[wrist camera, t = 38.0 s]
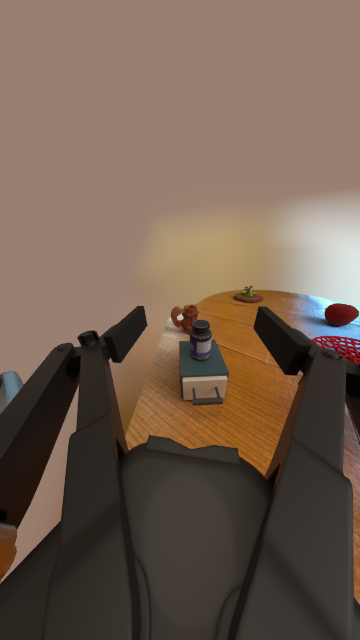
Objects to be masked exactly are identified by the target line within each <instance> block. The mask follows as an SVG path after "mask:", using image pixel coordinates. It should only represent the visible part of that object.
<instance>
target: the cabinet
mask: <svg viewBox="0 0 360 640" xmlns="http://www.w3.org/2000/svg"><path fill="white" fill-rule="evenodd" d="M179 351H180V383H181V396H182V398H184V397H183V381H182V378H185V377H201V376H227V379H228V375H229V372H228V370H227V367H226V365H225V363H224V360H223V358H222V356H221V353H220V351H219V348H218V346H217V344H216V341H215V340H211V350H210V357H209V358H208V359H207V360H204V361H198V360H195V359H194V358H192V357H191V354H190V341H179ZM227 381H228V380H227ZM226 387H227V386H226Z"/></svg>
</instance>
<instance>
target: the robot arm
mask: <svg viewBox="0 0 360 640" xmlns="http://www.w3.org/2000/svg"><path fill="white" fill-rule="evenodd" d="M146 327H147V321H146V316H145V310H144V306H137V307H136V308H135V309H134V310H133V311H132V312H130V313H129V314H128V315H127V316H126V317H125V318H124V319H122V320H121V321H120V322H119V323H118V324H116V325H114V326H112V327H111V328H110V329H109V330H107V331H106V332H105V333H104V334H103V335H102V336H100V337H99V336H98V334H97V332H96V331H87V332H84V333H82V334H80V335H79V336H78V340H79V342H80V344H81V347H74V346H73V344H72V343H65V344H61V345H58V346H57V347H55V348H54V349H53V350H52V351H51V352H50V354H49V355H48V356H47V357H46V359H45V360H44V361H43V362H42V363H41V365H40V366H39V367H38V368H37V370H36V371H35V372H34V373H33V375H32V376H31V377H30V378H29V380H28V381H27V382H26V383H25V384H23V382H22V380H21V378H20V377H19V375H18V374H17V373H16V372H14V371H8V372H3V373H1V375H0V581H1V579H2V578H3V576H4V575H5V574H6V573H7V571H8V570H9V568H10V566H11V564H12V563H13V561H14V558H15V555H16V552H17V550H16V546H15V542H16V538H17V529H18V527H19V525H20V523H21V521H22V519H23V517H24V515H25V513H26V511H27V509H28V507H29V506H30V504H31V501H32V499H33V497H34V494H35V492H36V490H37V487H38V485H39V483H40V480H41V478H42V475H43V473H44V470H45V467H46V465H47V463H48V460H49V458H50V455H51V453H52V450H53V448H54V445H55V443H56V440H57V437H58V435H59V432H60V430H61V427H62V425H63V422H64V420H65V417H66V415H67V412H68V410H69V407H70V404H71V402H72V400H73V397H74V395H75V392H76V389H77V387H78V385H79V396H78V397H79V398H78V413H77V428H76V432H74V433H73V434H71V436H70V439H69V445H68V456H67V465H66V476H65V486H64V496H63V506H62V516H61V521H60V522H59V523H58V524H57V525H56V526H55V527H54V528H53V529H52V530H51V531H50V533H49V534H48V535H47V536H46V537H45V538H44V539H43V540H42V541H41V542H40V543H39V544H38V545H37V546H36V547H35V548H34V549H33V550H32V551H31V552H30V553H29V554H28V555H27V557H26V558H25V559H24V560H23V561H22V562H21V563H20V564H19V565H18V566H17V567H16V568H15V569H14V570H13V571H12V572H11V573H10V574H9V575H8V576H7V577H6V578H5V579H4V581H3V582H2V583H1V584H0V640H360V604H359V603H358V602H357V600H356V599H355V598H354V578H353V491H352V484H351V482H350V480H349V479H348V478H346V477H345V476H344V474H343V448H344V418H345V401H346V404H347V406H348V409H349V411H350V414H351V416H352V419H353V421H354V424H355V426H356V429H357V431H358V434H359V436H360V363H357V362H352V361H348V360H346V359H345V358H344V357H343V356H342V355H340V354H339V353H337V352H334V351H332V350H328V349H322V348H320V347H319V346H318V345H317V344H315V343H314V342H313V341H312V340H310V339H309V338H308V337H307V336H306V335H304V334H303V333H302V332H300V331H298V330H296V329H292V328H291V327H290V326H289V325H287V324H286V323H285V322H284V321H283V320H282V319H280V318H279V317H278V316H277V315H276V314H275V313H273V312H272V311H271V310H270V309H269V308H267V307H259V308H258V312H257V316H256V320H255V324H254V330H255V331H256V333H257V334H258V336H259V337H260V339H261V340H262V342H263V343H264V345H265V346H266V347H267V349H268V350H269V352H270V353H271V355H272V356H273V358H274V359H275V361H276V362H277V364H278V365H279V367H280V368H281V370H282V371H283V372H284V374H285V375H296V376H297V374H298V372H299V370H301V371H302V373H303V376H302V378H301V380H300V381H299V383H298V385H299V386H298V389H297V392H296V395H295V397H294V400H293V403H292V406H291V408H290V411H289V414H288V417H287V420H286V422H285V425H284V428H283V431H282V433H281V436H280V439H279V442H278V444H277V447H276V450H275V453H274V456H273V458H272V461H271V464H270V466H269V468H268V470H267V472H266V474H265V477H264V476H263V475H262V474H261V473H260V472H259V471H258V470H257V469H256V468H255V467H254V466H253V465H251V464H250V463H249V462H247V461H246V460H244V459H243V458H241V457H239V454H238V449H237V448H230V447H224V446H217V445H212V446H207V447H201V448H196V449H189V448H187V447H185V446H183V445H181V444H179V443H177V442H175V441H174V440H172V439H170V438H164V437H158V436H151V435H149V437H148V441H147V442H146V443H142V444H140V445H137V446H136V447H134V448H132V449H131V450H128V447H127V444H126V440H125V436H124V431H123V427H122V422H121V417H120V413H119V408H118V403H117V398H116V393H115V389H114V384H113V379H112V374H111V369H110V364H109V361H108V360H109V359H110V358H111V359H112V361H113V362H115V363H121V362H122V360H123V359H124V358H125V356H126V355H127V353H128V352H129V351H130V349H131V348H132V346H133V345H134V344H135V342H136V341H137V339H138V338H139V337H140V335H141V334H142V332H143V331H144V330H145V328H146Z"/></svg>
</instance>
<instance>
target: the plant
mask: <svg viewBox="0 0 360 640" xmlns="http://www.w3.org/2000/svg"><path fill="white" fill-rule="evenodd" d="M251 287H252V288H253V286H250V288H251ZM250 288H249V289H248V287H247V289H248V290H247V289H246V287H245V289H244V290H243V292H244V293H239V294H236V295H235V296H234V299H236V300H238V301H242V302H245V303H255V302H259V301H261V300H263V297H261V296H260V295H256V294H254V293H255V292H253V293H252V291H250ZM245 290H247V291H246V292H245Z"/></svg>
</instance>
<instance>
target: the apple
mask: <svg viewBox="0 0 360 640" xmlns="http://www.w3.org/2000/svg"><path fill="white" fill-rule="evenodd" d="M358 316H359V311H358V310H357V309H356V308H355V307H353V306H351V305H346V304H339V303H337V304H333V305H330V306H328V307H327V308H326V309H325V319H326V321H327V322H328V323H329V324H331V325H334V326H344V325H347V324H348V323H350V322H352V321H353V320H354V319H356V318H357V317H358Z"/></svg>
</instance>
